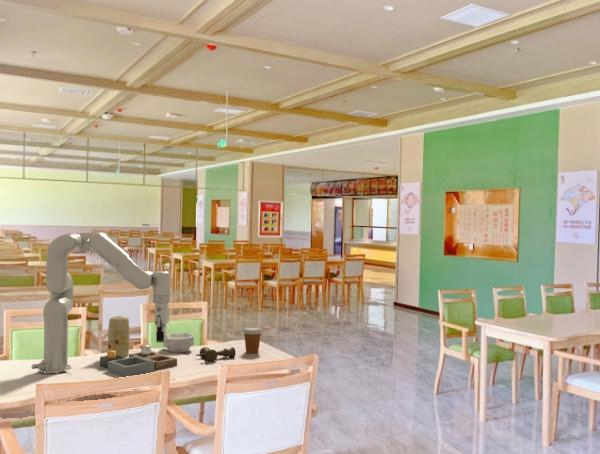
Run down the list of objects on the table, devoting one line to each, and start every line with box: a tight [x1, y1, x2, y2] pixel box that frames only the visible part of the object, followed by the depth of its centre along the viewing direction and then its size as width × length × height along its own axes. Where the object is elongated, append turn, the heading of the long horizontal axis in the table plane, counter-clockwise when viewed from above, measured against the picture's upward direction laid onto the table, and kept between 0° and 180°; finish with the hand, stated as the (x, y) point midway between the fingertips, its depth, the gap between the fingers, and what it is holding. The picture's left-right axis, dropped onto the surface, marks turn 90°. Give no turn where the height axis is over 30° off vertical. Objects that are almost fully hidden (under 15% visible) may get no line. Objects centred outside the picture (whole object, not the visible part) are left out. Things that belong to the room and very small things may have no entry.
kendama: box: [195, 346, 237, 363], centre depth 264 cm, size 6×10×20 cm
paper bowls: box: [162, 332, 195, 354], centre depth 279 cm, size 15×15×8 cm
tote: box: [107, 356, 155, 377], centre depth 236 cm, size 14×14×5 cm
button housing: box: [99, 355, 123, 370], centre depth 243 cm, size 7×7×5 cm
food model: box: [107, 315, 130, 358], centre depth 260 cm, size 10×7×20 cm
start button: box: [106, 350, 116, 359], centre depth 243 cm, size 4×4×4 cm
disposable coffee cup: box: [243, 326, 263, 354], centre depth 280 cm, size 10×10×12 cm
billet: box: [155, 324, 167, 343], centre depth 246 cm, size 4×4×7 cm
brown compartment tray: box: [128, 350, 178, 371], centre depth 250 cm, size 22×11×4 cm, turn 48°
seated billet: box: [140, 344, 152, 357], centre depth 254 cm, size 4×4×7 cm
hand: (161, 338), depth 246 cm, fingers closed on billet, 4 cm apart
